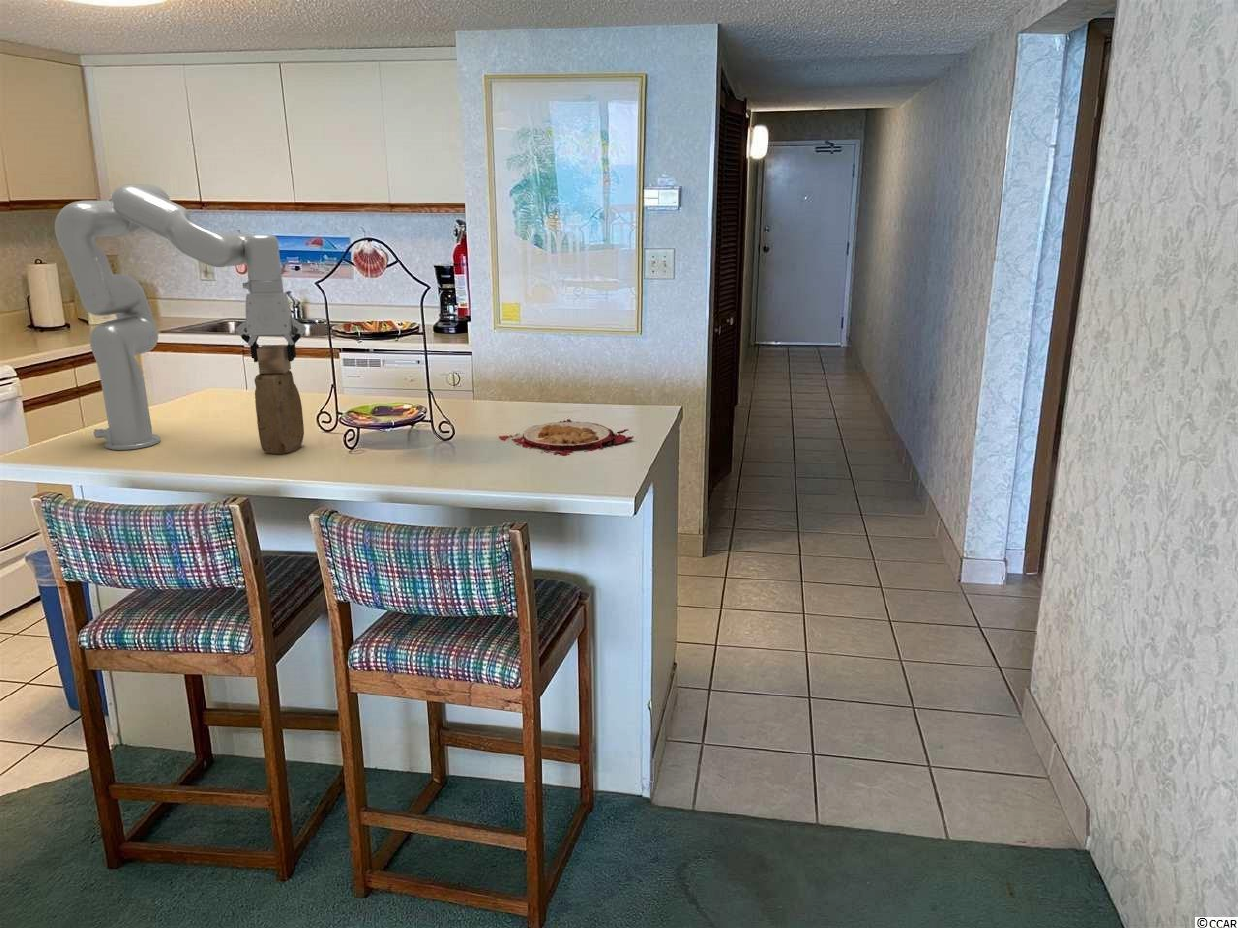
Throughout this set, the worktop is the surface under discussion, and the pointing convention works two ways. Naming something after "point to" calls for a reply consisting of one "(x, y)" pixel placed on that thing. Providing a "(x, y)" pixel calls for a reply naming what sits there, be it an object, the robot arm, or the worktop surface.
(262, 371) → the cube
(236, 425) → the worktop surface
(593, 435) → the plate with food
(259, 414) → the block
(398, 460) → the worktop surface
